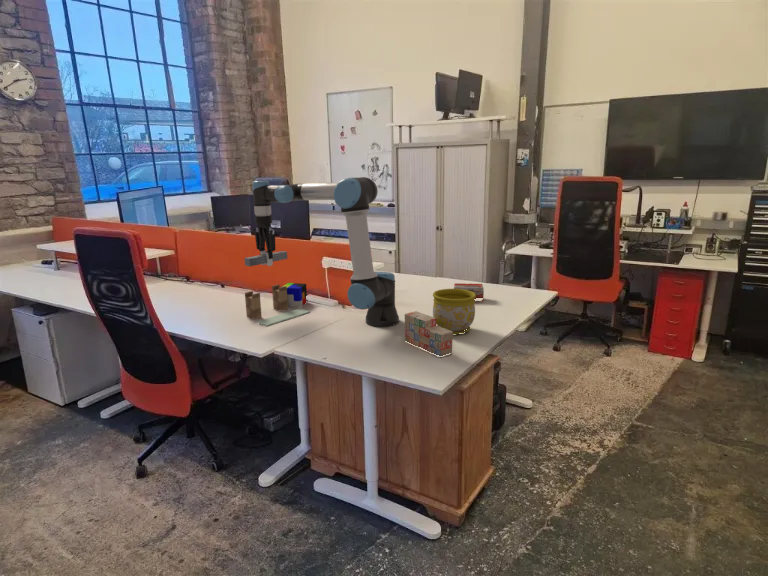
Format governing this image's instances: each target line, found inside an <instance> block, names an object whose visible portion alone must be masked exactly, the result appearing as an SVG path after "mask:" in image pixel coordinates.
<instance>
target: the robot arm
mask: <svg viewBox="0 0 768 576" xmlns="http://www.w3.org/2000/svg"><path fill="white" fill-rule="evenodd" d="M378 192H379V190H378V187H377V184H376V183H375V181H374V180H373V179H371V178H370V177H366V176H365V177H364V176H363V177H362V176H360V177H348V178H344V179H341V180H339V181H338V182H323V183H322V182H321V183H320V182H319V183H294V184H280V185H279V184H278V185H277V184H276V185H275V184H274V185H271V184H270V182H269V181H268V180H254V181H252V194H253V195H252V197H253V208H254V210H253V211H254V215H255V217H254V220H255V224H256V225H257V226H256V228H253V233H254V236H255V237H254V239H255V244H256V246H255V247H256V250H258V251H259V253H260V254H259V255H264V254H266V256H267V263H264V264H261V266H265V265H267V267H271V266H273V265H274V262H273V260H272V259H273V254H272V253H274V251H275V252H276V232H277V231H276V229H273V228H272V226H271V224H273V217H272V203H281V204H284V203H285V204H286V203H290V202H296V201H334V202H335V204H336V205H337V206H338V207H340V213H341V214H342V215H343V216H344V217H345V221H346V228H347V229H346V230H347V236H348V244H349V251H350V257H351V258H350V260H351V265H352V275H351V276H350V284H351V285H350V286H349V287H348V289H347V293H346V294H347V299H348V301H349V303H350V304H351V305H352V306H353V307H354V308H356V309H358V310H367V312H366V316H365V323H366V324H367V325H368V326H371V325H372V326H371V327H378V326H386V327H390V326H389V325H392V326H394V325H393V324H395V325H397V324H398V323H400V316H399V314H398V310H397V307H396V278H395V277H396V276H395V274H394V273H392V272H388V271H374V263H373V255H372V249H371V241H370V233H369V226H368V217H367V214H368V213H369V211H370V204H371V203H373V202H375V200H376V198H377V196H378V194H379V193H378ZM396 323H397V324H396Z"/></svg>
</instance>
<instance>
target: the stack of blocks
mask: <svg viewBox="0 0 768 576" xmlns="http://www.w3.org/2000/svg"><path fill="white" fill-rule="evenodd" d="M453 336H454V335H453V331H450V330H447V329H445V328H442V327H439V326H437V324H436V318H435V317H433V315H432V316H431V315H429V314H425V313H423V312H420V311H417V310H416V311H411V312H407V313H404V342H405V341H407V342H409V343H411V344H413V345H415V346H418V347H421V348H423V349H425V350H427V351H429V352H431V353H434V354H436V355H439V356H443V355H446V354H449V353H452V354H453V338H454V337H453Z"/></svg>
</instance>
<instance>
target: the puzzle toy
mask: <svg viewBox="0 0 768 576" xmlns="http://www.w3.org/2000/svg"><path fill="white" fill-rule="evenodd" d="M284 286H286V288H287V305H288V308H298V307H300V308H302V307H303V306H305V305H306V304H307V303H306V296H307V297H308V291H307V283H301V282H299V283H298V282H297V283H296V282H294V283H293V282H287V283H286V284H284V285H282V286H281V287H284ZM305 303H306V304H305ZM301 306H302V307H301Z"/></svg>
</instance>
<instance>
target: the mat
mask: <svg viewBox="0 0 768 576" xmlns="http://www.w3.org/2000/svg"><path fill="white" fill-rule="evenodd" d="M310 313H311V311H310V310H306V309H302V308H295V309H293V310H289V311H286V312H283V313H280V314H277V315H273V316H269V317H266V318H263V319H260V320H257V321H255V323H256V324H258V323H259V325H261V324H262V325H261V326H265V325H266V326H265V327H269V326H272V324H273V325H276V324H278V322H279V323H282V322H284V320H285V321H287V320H292V319H294V318H297V316H298V317H301V316H304V315H307V314H310ZM303 314H304V315H303ZM281 321H282V322H281ZM275 323H276V324H275Z"/></svg>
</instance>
